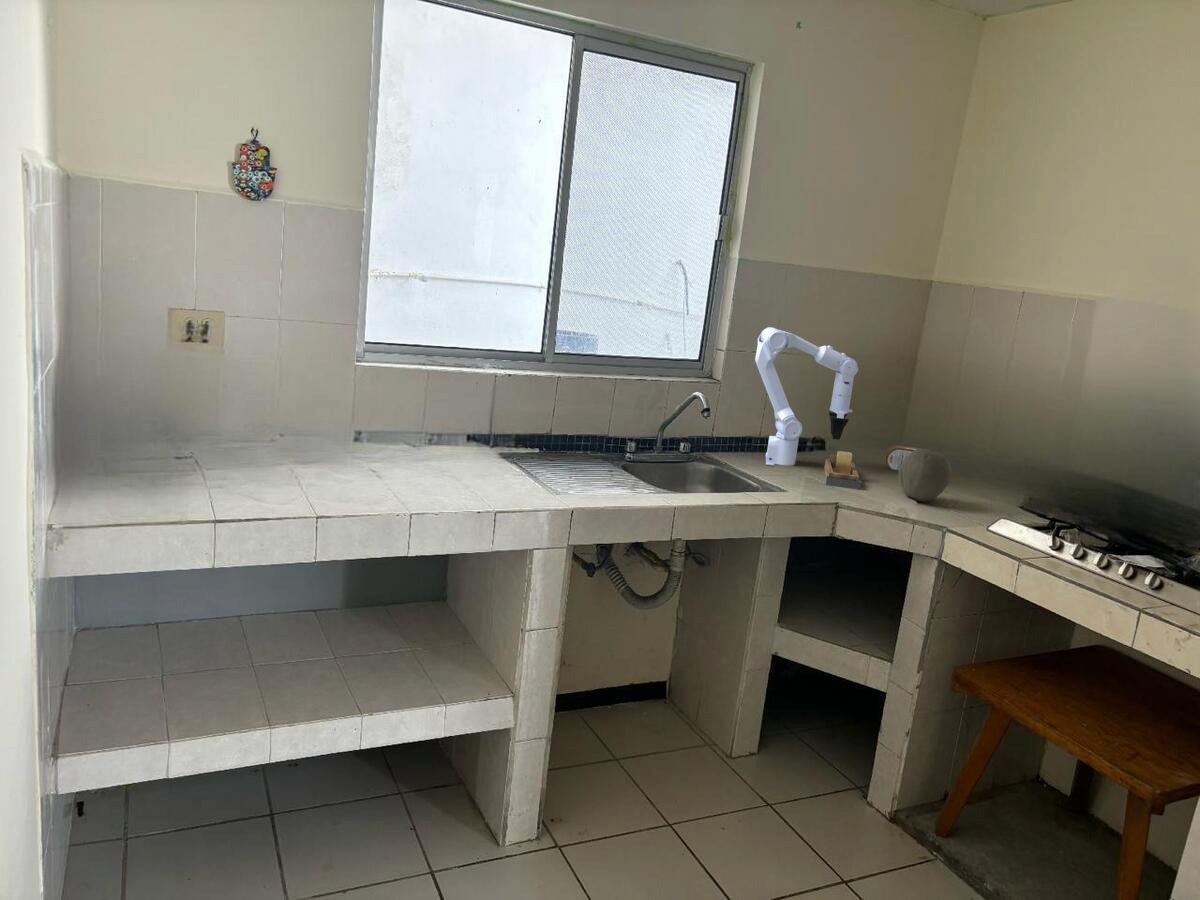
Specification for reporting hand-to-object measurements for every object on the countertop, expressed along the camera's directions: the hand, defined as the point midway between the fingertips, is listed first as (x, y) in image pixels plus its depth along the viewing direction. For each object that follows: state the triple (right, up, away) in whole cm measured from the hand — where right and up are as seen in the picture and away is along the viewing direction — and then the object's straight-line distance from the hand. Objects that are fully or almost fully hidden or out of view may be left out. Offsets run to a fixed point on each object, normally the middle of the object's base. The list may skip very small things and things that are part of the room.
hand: (835, 436), depth 298 cm
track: (-2, -13, -11) cm, 17 cm away
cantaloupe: (+18, -19, -27) cm, 38 cm away
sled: (-2, -13, -13) cm, 18 cm away
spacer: (-1, -12, -13) cm, 18 cm away
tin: (+25, -12, +8) cm, 29 cm away
